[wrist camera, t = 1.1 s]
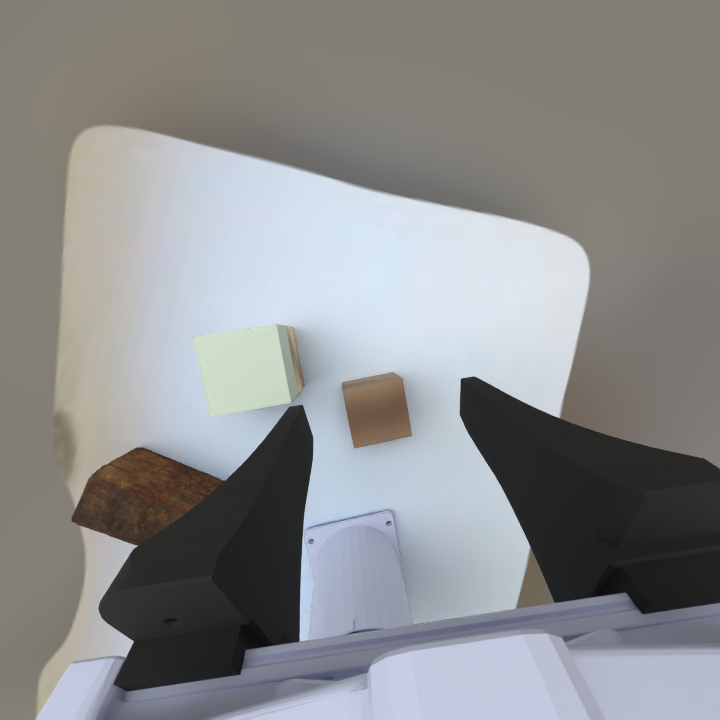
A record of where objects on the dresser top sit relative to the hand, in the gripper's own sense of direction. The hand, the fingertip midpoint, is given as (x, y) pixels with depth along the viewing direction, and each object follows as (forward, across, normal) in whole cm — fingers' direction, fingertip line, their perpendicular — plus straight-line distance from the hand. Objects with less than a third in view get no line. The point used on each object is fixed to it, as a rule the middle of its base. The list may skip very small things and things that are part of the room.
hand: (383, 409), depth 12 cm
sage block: (+8, +8, 0) cm, 11 cm away
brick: (+6, +17, +10) cm, 21 cm away
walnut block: (+9, 0, +6) cm, 11 cm away
